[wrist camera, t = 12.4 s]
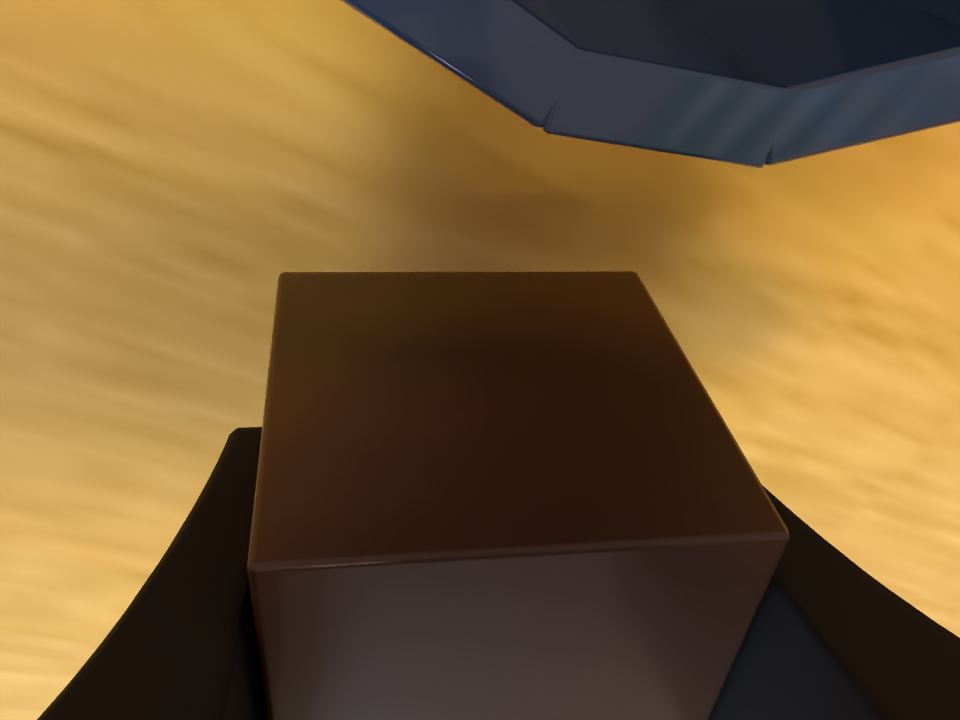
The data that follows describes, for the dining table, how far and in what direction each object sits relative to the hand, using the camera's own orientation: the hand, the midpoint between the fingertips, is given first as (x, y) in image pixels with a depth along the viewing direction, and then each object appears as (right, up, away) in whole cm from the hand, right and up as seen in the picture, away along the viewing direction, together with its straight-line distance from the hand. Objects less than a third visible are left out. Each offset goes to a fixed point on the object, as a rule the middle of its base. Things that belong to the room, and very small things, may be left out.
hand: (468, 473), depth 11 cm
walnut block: (0, +1, +1) cm, 1 cm away
